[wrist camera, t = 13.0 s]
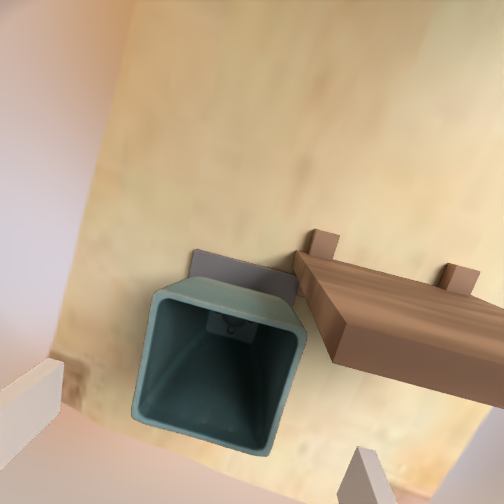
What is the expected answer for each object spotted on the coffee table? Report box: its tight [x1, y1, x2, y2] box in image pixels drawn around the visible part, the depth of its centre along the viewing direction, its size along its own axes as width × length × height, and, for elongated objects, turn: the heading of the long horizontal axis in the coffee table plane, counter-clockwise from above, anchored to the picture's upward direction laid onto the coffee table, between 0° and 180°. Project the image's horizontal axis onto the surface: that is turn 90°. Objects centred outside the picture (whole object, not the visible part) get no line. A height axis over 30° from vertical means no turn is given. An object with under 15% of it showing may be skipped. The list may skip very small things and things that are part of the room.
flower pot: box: [131, 276, 307, 457], centre depth 18 cm, size 9×9×9 cm
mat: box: [189, 249, 299, 332], centre depth 23 cm, size 10×10×1 cm
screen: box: [292, 229, 504, 409], centre depth 15 cm, size 6×16×14 cm, turn 76°
